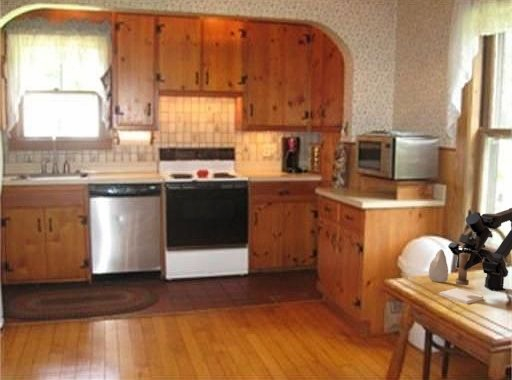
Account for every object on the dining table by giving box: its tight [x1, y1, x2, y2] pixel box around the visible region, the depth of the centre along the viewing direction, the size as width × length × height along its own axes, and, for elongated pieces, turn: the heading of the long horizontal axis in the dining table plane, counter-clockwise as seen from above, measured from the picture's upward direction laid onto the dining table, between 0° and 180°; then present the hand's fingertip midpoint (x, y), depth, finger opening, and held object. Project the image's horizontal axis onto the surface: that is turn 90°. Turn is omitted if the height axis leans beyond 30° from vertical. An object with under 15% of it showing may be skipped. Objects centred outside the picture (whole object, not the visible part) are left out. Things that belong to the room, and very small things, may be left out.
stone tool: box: [427, 248, 449, 283], centre depth 245 cm, size 8×3×15 cm, turn 68°
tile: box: [439, 287, 484, 305], centre depth 223 cm, size 11×13×1 cm
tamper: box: [455, 253, 470, 286], centre depth 222 cm, size 5×5×12 cm
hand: (460, 268), depth 221 cm, fingers closed on tamper, 3 cm apart
